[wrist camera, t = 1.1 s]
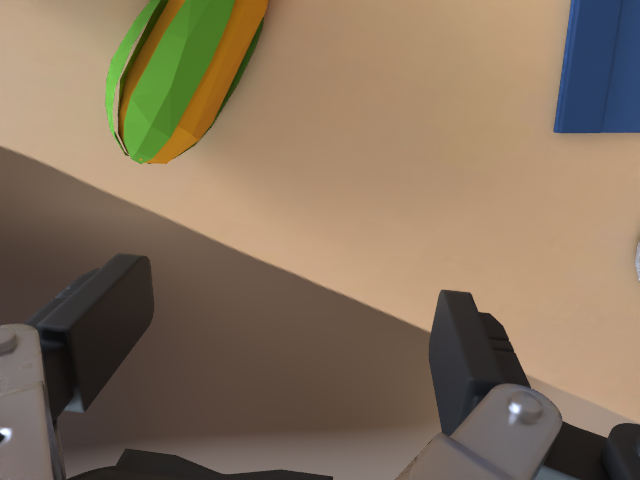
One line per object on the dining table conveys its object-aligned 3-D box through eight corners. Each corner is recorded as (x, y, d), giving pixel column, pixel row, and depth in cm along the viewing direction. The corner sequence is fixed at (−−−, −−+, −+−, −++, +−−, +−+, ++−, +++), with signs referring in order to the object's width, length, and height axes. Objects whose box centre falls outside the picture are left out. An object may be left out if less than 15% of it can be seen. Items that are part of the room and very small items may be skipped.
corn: (56, 134, 28) (218, -199, 24) (99, 124, 35) (230, -134, 31) (168, 196, 30) (336, -103, 26) (187, 175, 37) (322, -62, 33)
